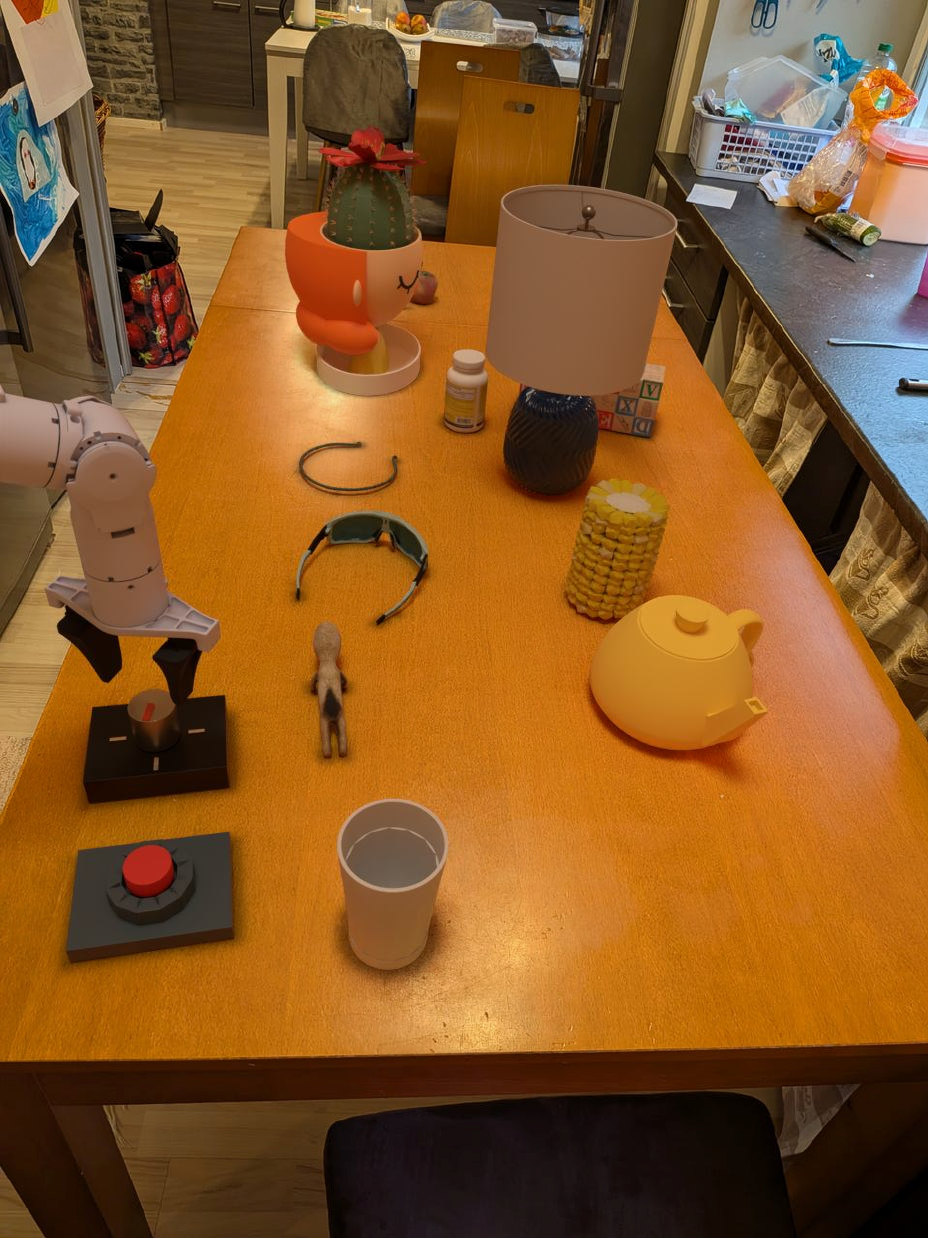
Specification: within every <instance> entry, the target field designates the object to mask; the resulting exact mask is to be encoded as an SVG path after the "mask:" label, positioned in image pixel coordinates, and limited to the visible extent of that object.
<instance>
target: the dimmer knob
mask: <svg viewBox="0 0 928 1238" xmlns="http://www.w3.org/2000/svg"><path fill="white" fill-rule="evenodd" d="M127 704H128V714H129V718H130V723H131V727H132V731H133V736H134V740H135V743H136V745H137V746H138V747H139V748H141V749H142V750H144V751H148V752H159V751H163V750H166V749H168V748H170V747H172V746H173V745H174V744H175V743H176V742H177V741H178V739H179V737H180V734H181V731H180V725H179V720H178V714H177V709H176V704H174V703H173V701H172V699H171V697H170V693H169V691H167V690H164V689H159V688H152V689H147V690H143V691H140V692H138V693H137V694H135V695H134V696H133V697H132V698H131V699H130V701H129V702H128V703H127Z"/></svg>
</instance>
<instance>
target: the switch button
mask: <svg viewBox="0 0 928 1238" xmlns="http://www.w3.org/2000/svg"><path fill="white" fill-rule="evenodd" d="M123 874H124V878H125V881H126V885H127V888H128V889H129V891H130V892H131V893H132V894H134V895H136V896H139V897H153V896H156V895H158V894H160V893H162V892H163V891H165V890H166V889H167V888H168V887H169V886H170V885H171V883H172V881H173V878H174V868H173V864H172V859H171V856H170V854H169V852H168V851H167V850H166V849H164V848H163V847H160V846H157V845H147V846H143V847H140V848H138V849H136V850H134V851H133V852H132V853H130V854H129V855H128V857H127V858H126V860H125V862H124V864H123Z"/></svg>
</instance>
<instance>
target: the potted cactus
mask: <svg viewBox="0 0 928 1238" xmlns="http://www.w3.org/2000/svg"><path fill="white" fill-rule="evenodd" d="M350 140H351V141H350V142H349V143H348V145H347V149H348V151H345V150H342V149H339V148H335V147H327V146H324V147H319V148H318V153H320V154H323V155H325V158H326V159H325V160H326V162H329V163H330V164H332V165H334V166H335V167H337V168H339V169H340V170H339V169H337V171H336V175H334V178H335V179H336V181H334V179H333V178H332V180H330V183H331V185H328V189H327V191H328V192H329V193H327V195H326V197H327V196H328V197H330V198H325V199H324V202H323V204H324V206H326V207H324V209H323V211H318V212H317V211H315V212H310V213H306V214H302V215H298V216H297V217H294V218H292V219H291V220H290V221H289V222H288V223H287V224H288V225H287V229H286V234H285V240H284V259H285V264H286V265H285V267H286V271H287V275H288V279H289V282H290V285H291V287H292V289H293V291H294V294H295V295H296V296H297V298H298V301H299V302H298V303H297V304H296V308H295V319H296V323H297V326H298V328H299V330H300V331H301V333H302V334H303V335H304V336H305V338H306V339H308V340H309V341H310V342H311V343H312V344H315V345H316V348H315V349H316V372H317V375H318V377H319V379H320V380H321V381H322V382H323V383H325V385H327V386H329V387H330V388H332V389H334V390H336V391H338V392H341V393H344V394H348V395H354V396H355V395H356V396H365V397H366V396H369V397H370V396H381V395H388V394H391V393H394V392H397V391H399V390H402V389H404V388H406V387H408V386H409V385H411V384H412V383H413V382H414V381H415V380H416V379H417V378H418V375H419V374H420V371H421V370H420V369H421V351H422V346H421V343H420V341H419V339H418V338H417V337H416V335H414V334H413V333H412V331H411V332H410V331H409V330H408V329H406V328H404V327H402V326H400V325H399V326H398V325H396V324H393V323H389V322H391V321H393V320H394V319H396V318H397V317H398V316H399V315H400V314H401V313H402V312H403V311H405V310H406V309H407V306H408V305H409V303H410V301H412V300H411V298H412V296H413V294H414V295H415V294H417V292H418V290H419V285H420V282H419V278H420V273H421V271H422V267H423V264H424V262H423V259H424V258H423V256H424V254H423V252H424V249H423V247H424V246H423V237H422V232H421V230H420V228H418V224H415V223H418V222H419V220H417V217H416V218H413V216H418V214H417V208H412V207H415V204H416V201H415V199H416V197H415V196H416V195H415V194H414V193H415V192H414V191H412V189H411V188H412V187H410V182H407V183H406V179H405V178H406V174H405V173H406V172H405V173H404V172H402V173H403V174H402V175H400V171H405V170H406V168H404V167H411V166H412V167H413V166H414V167H415V166H423V165H426V164H427V161H424V160H422V159H420V158H419V159H417V157H419V156H420V155H421V154H420V153H419V152H407V151H405V150H402V149H398V148H397V146H396V145H395V144H392V143H387V144H385V136H384V134H383V132H382V131H381V130H380V129H379V128H377V127H375V126H373V125H370V126H367V127H366V128H365V129H357V130H355V131H354V132H353V133H352V134H351V139H350ZM349 151H350V152H349ZM399 166H400V167H399ZM340 172H341V173H340ZM405 183H406V184H405ZM410 189H411V190H410ZM410 191H412V192H410ZM409 192H410V193H409ZM413 196H414V198H411V199H410V197H413ZM327 202H328V203H327Z"/></svg>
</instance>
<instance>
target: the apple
mask: <svg viewBox="0 0 928 1238" xmlns="http://www.w3.org/2000/svg"><path fill="white" fill-rule="evenodd" d="M419 282H420V285H419V290H418V292H417V294H415V295H414V294H413V296H412V298H411V300H410V301H412V302H413V303H418V304H420V305H427V304H429V305H430V304H431V302H433V300H434V298H435V295H436V294H437V293H436V292H437V290H438V285H439V281H438V278H437V276H436V275H435V274H434V273H431V272H429V271H427V270H421V273H420V278H419Z"/></svg>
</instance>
